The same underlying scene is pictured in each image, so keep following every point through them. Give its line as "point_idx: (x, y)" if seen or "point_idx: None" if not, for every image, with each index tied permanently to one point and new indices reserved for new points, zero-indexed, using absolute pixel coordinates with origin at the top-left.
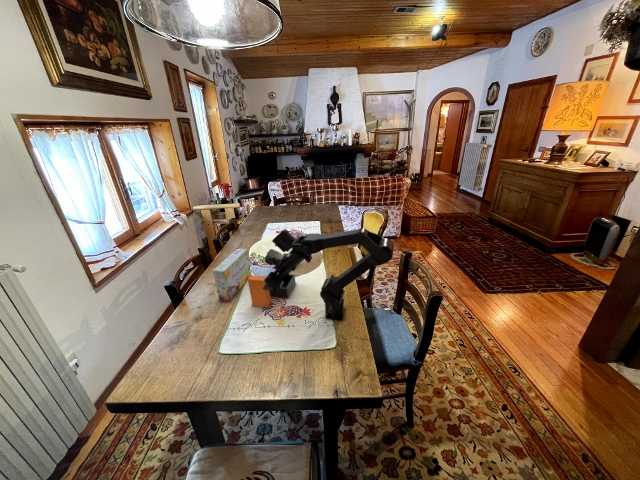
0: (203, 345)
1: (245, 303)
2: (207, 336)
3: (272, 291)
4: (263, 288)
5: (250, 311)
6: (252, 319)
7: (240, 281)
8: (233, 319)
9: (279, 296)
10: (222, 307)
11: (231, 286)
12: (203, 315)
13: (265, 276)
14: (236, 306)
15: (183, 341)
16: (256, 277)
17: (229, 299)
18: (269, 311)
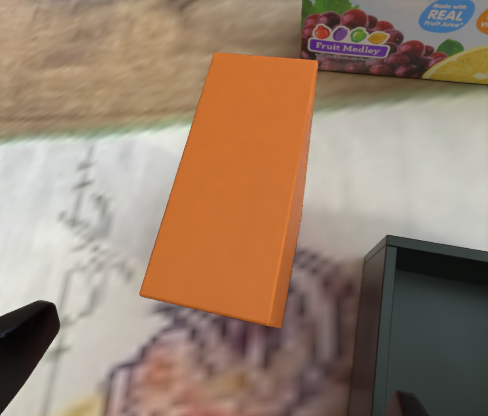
0: (19, 82)
1: None
2: (64, 75)
3: (367, 332)
4: (25, 313)
5: None
6: (134, 238)
7: (472, 45)
8: (151, 139)
9: (351, 391)
10: None
11: (356, 7)
12: (200, 6)
13: (270, 292)
14: None
15: (60, 10)
16: (251, 150)
17: None
18: (191, 331)
